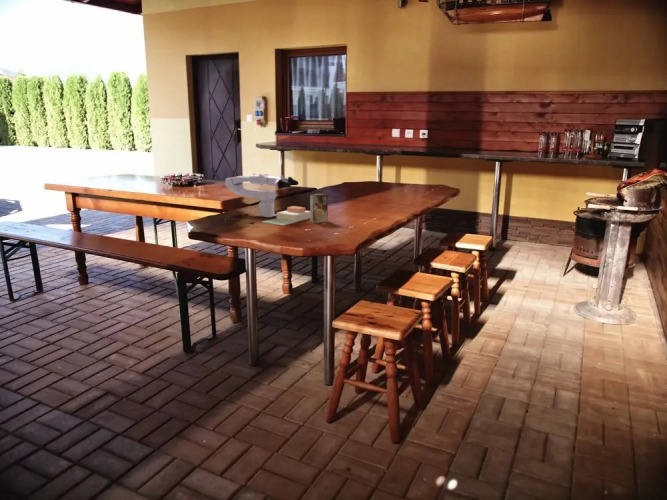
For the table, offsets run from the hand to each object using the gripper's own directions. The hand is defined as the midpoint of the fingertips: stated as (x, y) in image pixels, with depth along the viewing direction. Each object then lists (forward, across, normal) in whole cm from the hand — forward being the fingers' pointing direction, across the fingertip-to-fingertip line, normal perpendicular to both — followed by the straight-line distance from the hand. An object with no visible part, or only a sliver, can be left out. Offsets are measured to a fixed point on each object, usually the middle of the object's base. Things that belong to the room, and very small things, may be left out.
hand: (294, 184), depth 307 cm
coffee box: (+17, +2, +20) cm, 26 cm away
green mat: (-1, -13, +20) cm, 24 cm away
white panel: (0, +1, +21) cm, 21 cm away
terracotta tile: (-1, +3, +16) cm, 16 cm away
